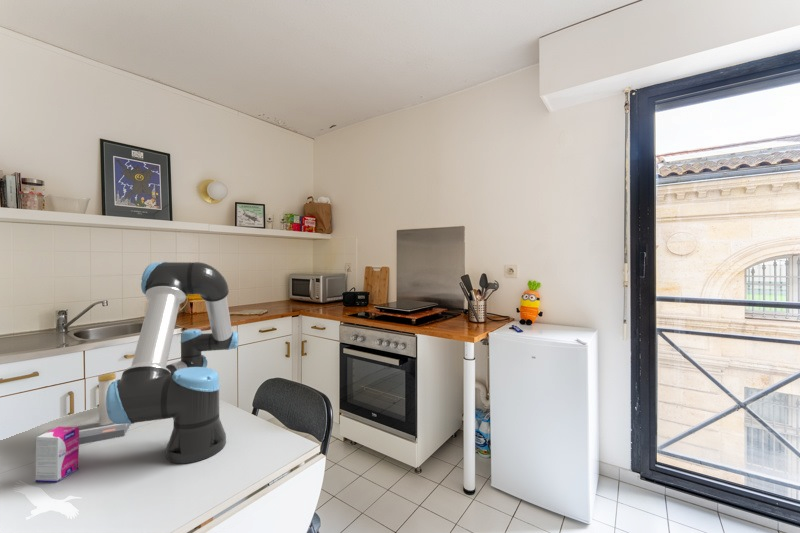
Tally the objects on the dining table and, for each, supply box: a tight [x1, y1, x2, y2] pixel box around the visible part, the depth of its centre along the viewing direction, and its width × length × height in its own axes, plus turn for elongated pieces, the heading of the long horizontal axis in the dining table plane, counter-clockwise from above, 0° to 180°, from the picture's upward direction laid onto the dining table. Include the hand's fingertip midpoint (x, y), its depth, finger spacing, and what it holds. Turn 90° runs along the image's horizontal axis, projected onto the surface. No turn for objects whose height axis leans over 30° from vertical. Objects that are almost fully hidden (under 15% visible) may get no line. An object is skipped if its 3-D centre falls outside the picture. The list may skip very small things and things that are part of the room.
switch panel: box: [46, 420, 132, 445], centre depth 107 cm, size 20×10×3 cm, turn 118°
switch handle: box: [97, 372, 116, 427], centre depth 109 cm, size 4×4×16 cm
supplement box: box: [34, 426, 80, 484], centre depth 87 cm, size 6×6×12 cm
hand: (116, 393), depth 115 cm, fingers open, 13 cm apart
